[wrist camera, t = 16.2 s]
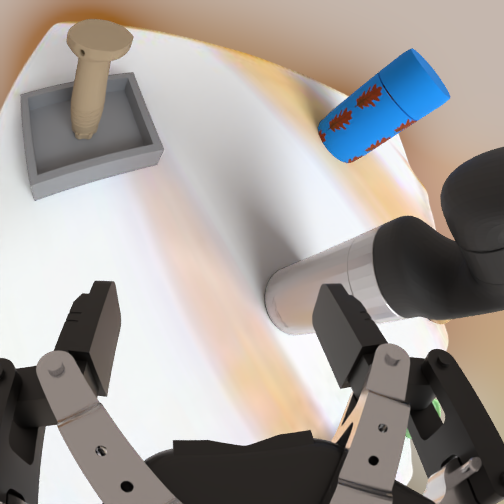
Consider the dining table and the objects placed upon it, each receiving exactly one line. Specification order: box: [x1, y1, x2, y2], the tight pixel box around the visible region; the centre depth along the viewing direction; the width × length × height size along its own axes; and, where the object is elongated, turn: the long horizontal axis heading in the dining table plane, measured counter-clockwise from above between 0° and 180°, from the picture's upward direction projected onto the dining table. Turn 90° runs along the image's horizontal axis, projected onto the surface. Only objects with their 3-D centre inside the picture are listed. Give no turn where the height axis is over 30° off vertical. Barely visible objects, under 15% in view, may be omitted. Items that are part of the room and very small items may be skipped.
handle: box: [67, 19, 133, 140], centre depth 25 cm, size 5×6×15 cm
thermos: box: [318, 49, 450, 163], centre depth 47 cm, size 11×11×25 cm
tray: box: [21, 72, 164, 201], centre depth 30 cm, size 16×14×4 cm
